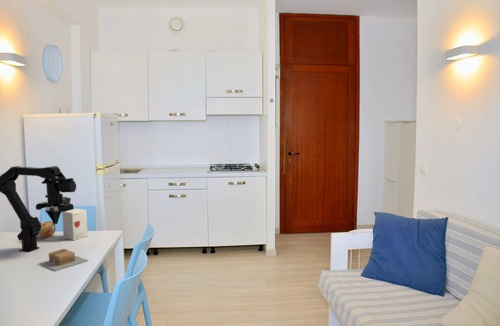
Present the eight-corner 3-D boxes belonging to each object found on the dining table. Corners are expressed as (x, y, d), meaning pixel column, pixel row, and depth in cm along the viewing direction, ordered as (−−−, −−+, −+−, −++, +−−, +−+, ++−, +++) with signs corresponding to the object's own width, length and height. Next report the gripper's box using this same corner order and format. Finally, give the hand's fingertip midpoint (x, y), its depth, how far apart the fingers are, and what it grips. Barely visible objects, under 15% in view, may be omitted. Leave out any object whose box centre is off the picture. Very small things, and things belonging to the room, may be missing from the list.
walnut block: (48, 252, 177) (59, 256, 172) (63, 248, 183) (74, 252, 177) (49, 261, 177) (59, 265, 172) (64, 257, 183) (75, 261, 178)
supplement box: (73, 240, 210) (71, 213, 209) (63, 238, 215) (61, 211, 213) (88, 236, 218) (86, 209, 216) (78, 234, 223) (76, 208, 221)
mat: (41, 265, 174) (41, 264, 174) (73, 256, 186) (73, 255, 186) (55, 271, 167) (55, 270, 167) (88, 261, 179) (88, 260, 179)
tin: (37, 242, 209) (36, 226, 208) (31, 241, 209) (30, 226, 208) (56, 234, 223) (55, 219, 223) (51, 234, 224) (50, 219, 223)
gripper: (81, 190, 196) (83, 221, 198) (52, 189, 203) (55, 218, 204) (63, 194, 186) (65, 227, 187) (33, 192, 192) (36, 224, 194)
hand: (55, 224), depth 194 cm, fingers closed
